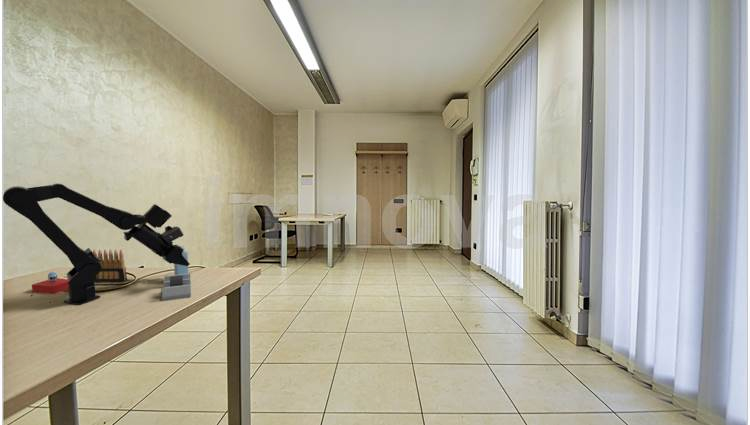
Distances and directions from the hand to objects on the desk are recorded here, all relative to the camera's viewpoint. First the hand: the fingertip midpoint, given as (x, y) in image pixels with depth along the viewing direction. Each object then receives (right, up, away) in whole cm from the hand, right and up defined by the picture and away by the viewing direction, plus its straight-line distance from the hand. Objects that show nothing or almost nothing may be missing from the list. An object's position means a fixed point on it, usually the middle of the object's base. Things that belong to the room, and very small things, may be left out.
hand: (185, 262), depth 127 cm
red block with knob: (-37, -7, -13) cm, 40 cm away
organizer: (+4, -8, -11) cm, 14 cm away
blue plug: (-1, -7, 0) cm, 7 cm away
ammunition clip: (-26, -6, -3) cm, 27 cm away
